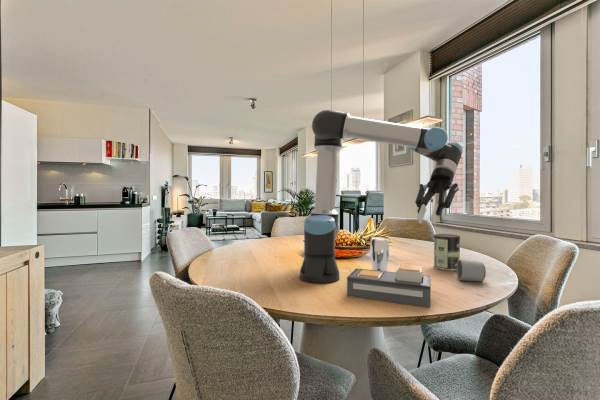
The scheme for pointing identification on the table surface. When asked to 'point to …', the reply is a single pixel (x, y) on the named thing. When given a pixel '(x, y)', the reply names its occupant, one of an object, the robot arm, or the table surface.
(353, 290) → the switch console
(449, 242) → the coffee can
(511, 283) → the table surface
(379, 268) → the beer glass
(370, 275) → the left switch
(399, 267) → the right switch
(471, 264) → the grey cylinder
